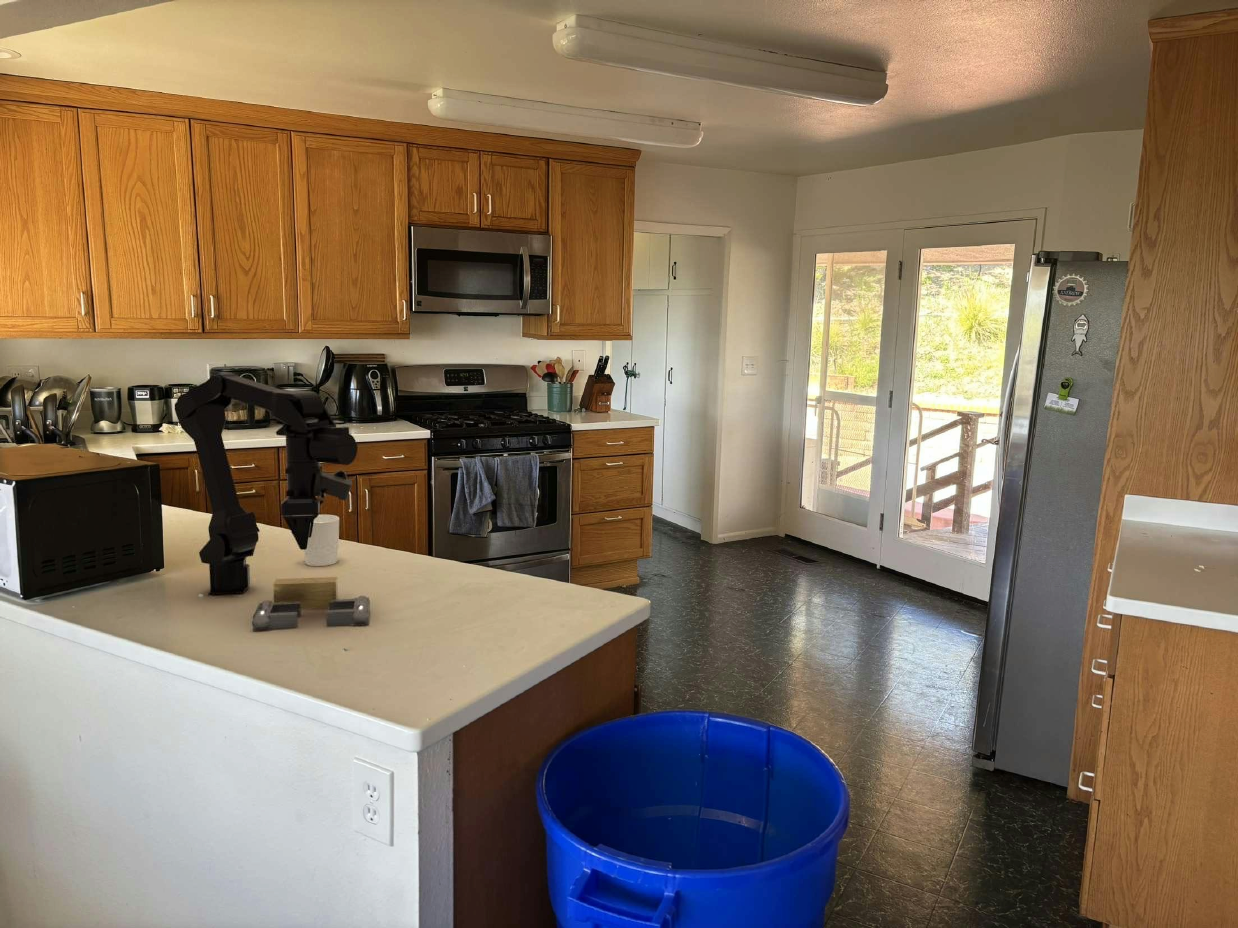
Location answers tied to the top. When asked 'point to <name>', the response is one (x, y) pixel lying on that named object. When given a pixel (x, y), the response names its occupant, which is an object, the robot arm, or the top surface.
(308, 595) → the gold ingot
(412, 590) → the top surface
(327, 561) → the white cup
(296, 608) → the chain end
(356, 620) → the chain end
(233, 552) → the robot arm
